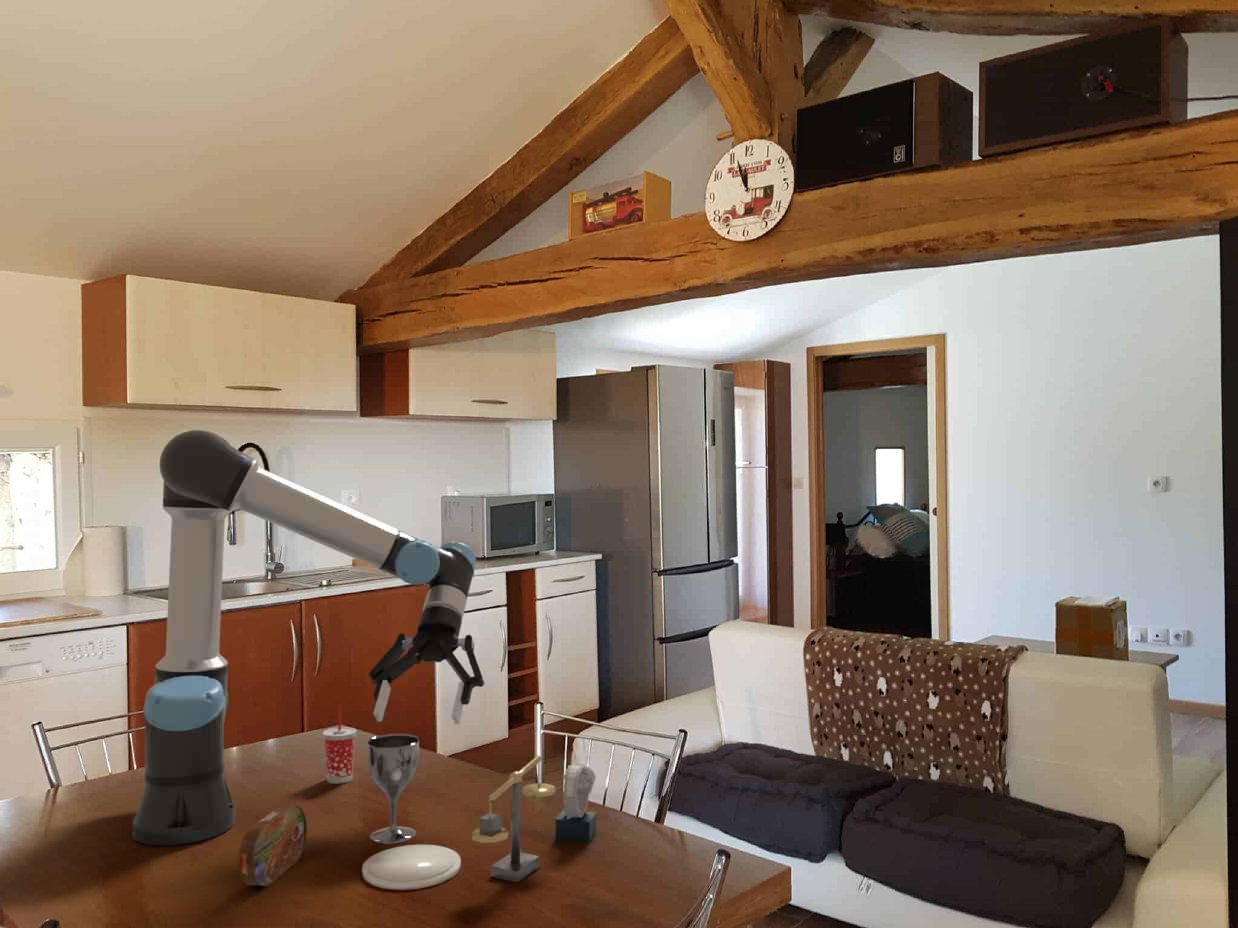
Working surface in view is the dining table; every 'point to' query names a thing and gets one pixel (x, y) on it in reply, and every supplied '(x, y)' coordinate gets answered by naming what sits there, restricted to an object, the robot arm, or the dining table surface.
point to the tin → (272, 846)
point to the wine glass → (393, 777)
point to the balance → (512, 826)
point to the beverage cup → (339, 752)
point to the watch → (576, 805)
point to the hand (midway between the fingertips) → (416, 718)
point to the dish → (411, 867)
